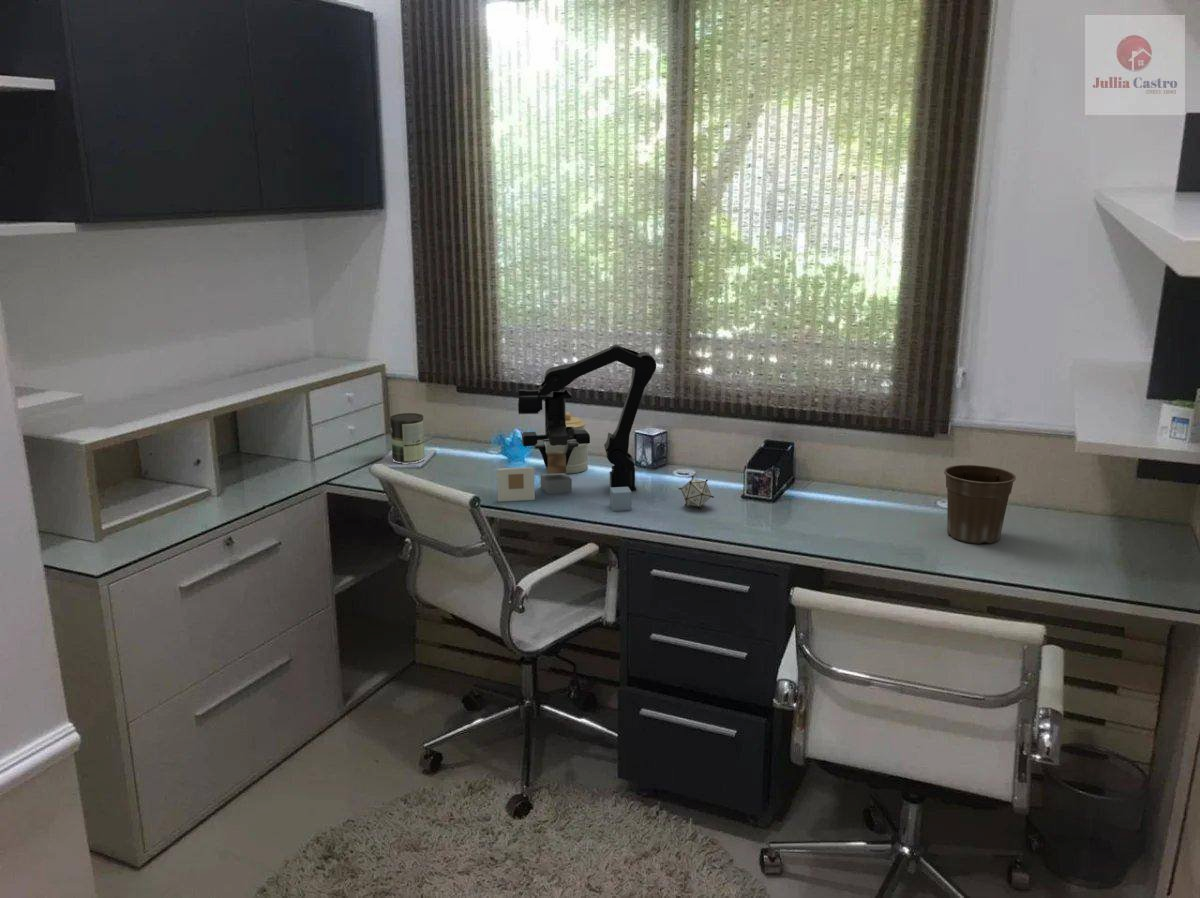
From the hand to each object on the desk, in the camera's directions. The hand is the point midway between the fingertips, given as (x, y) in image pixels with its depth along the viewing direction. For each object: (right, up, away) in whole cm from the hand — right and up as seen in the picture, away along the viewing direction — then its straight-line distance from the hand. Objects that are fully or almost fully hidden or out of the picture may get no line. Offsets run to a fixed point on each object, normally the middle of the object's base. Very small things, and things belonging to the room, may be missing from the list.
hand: (556, 467), depth 273 cm
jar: (+2, -1, +23) cm, 23 cm away
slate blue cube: (+18, -11, -14) cm, 25 cm away
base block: (0, -7, +2) cm, 7 cm away
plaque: (-11, -9, -8) cm, 16 cm away
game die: (+38, -11, -14) cm, 42 cm away
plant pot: (+104, -16, -36) cm, 111 cm away
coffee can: (-48, +1, +32) cm, 58 cm away
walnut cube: (0, -1, 0) cm, 1 cm away
